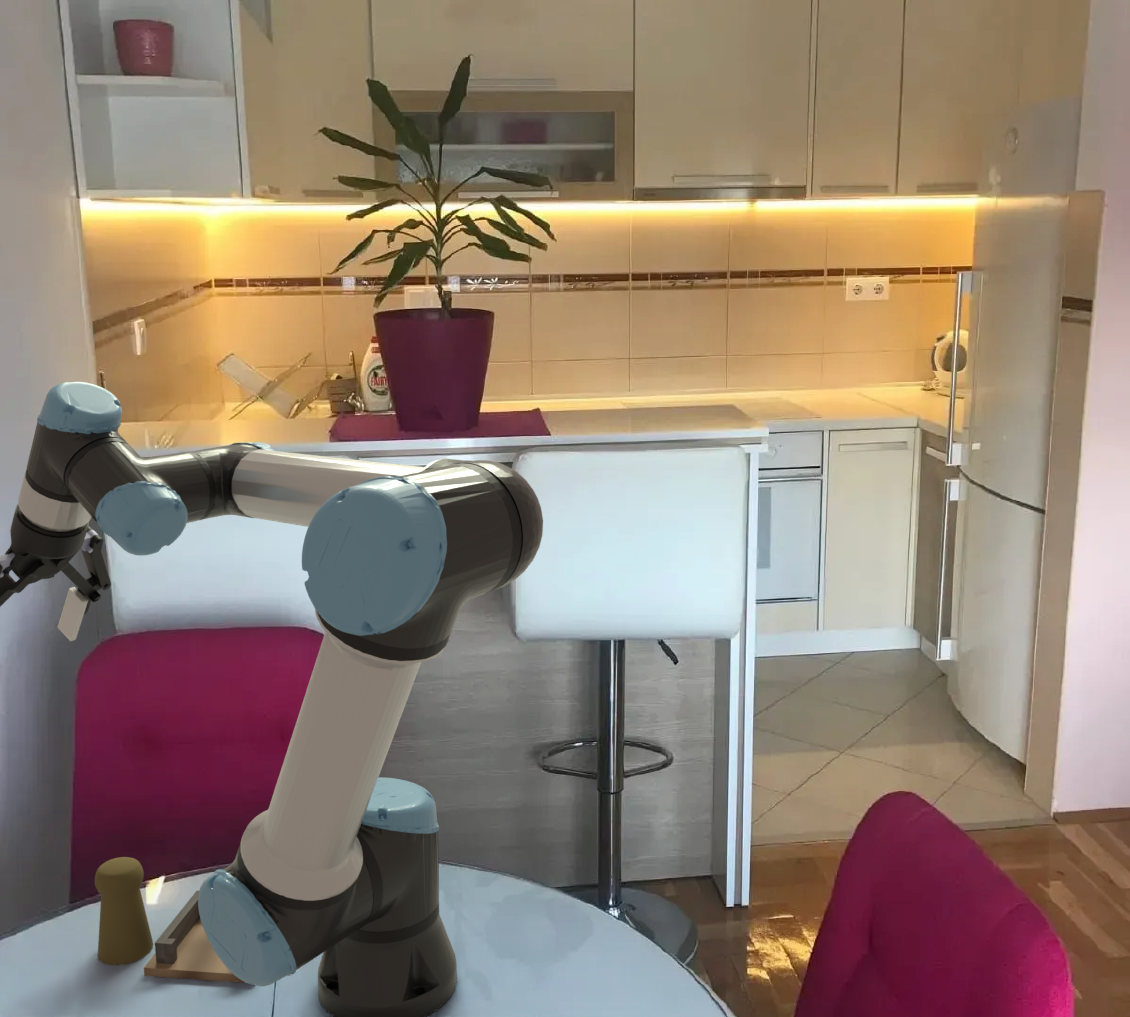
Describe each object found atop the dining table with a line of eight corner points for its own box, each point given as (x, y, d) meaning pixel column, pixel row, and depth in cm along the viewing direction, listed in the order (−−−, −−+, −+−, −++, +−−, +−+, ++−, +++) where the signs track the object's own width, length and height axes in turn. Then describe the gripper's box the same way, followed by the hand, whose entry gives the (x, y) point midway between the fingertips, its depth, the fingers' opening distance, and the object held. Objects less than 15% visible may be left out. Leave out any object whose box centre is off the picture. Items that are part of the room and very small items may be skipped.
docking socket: (296, 918, 137) (295, 892, 136) (256, 983, 124) (254, 955, 123) (194, 911, 138) (192, 885, 137) (144, 975, 125) (141, 947, 125)
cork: (134, 968, 127) (126, 879, 125) (86, 962, 128) (78, 873, 126) (163, 938, 133) (156, 852, 130) (117, 932, 134) (109, 847, 132)
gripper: (129, 470, 134) (88, 601, 144) (-79, 515, 113) (-111, 664, 123) (168, 508, 132) (124, 638, 141) (-37, 560, 111) (-73, 709, 121)
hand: (15, 651), depth 132 cm, fingers open, 13 cm apart
